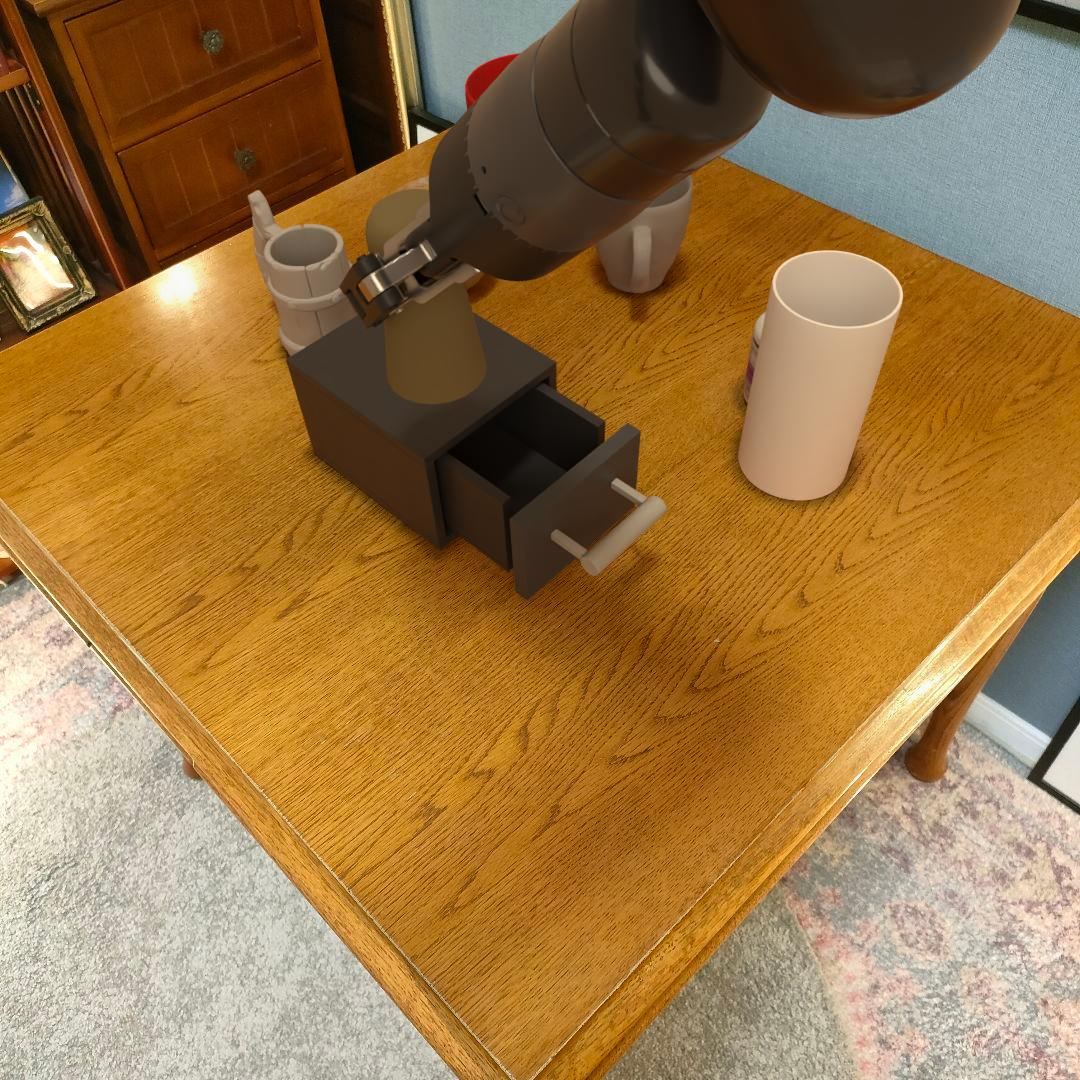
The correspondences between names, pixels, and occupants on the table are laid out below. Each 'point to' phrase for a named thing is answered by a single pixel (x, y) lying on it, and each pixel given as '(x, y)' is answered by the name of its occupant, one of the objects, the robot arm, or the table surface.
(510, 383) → the small storage chest
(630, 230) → the mug
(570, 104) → the robot arm
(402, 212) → the pepper shaker
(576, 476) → the drawer
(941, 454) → the table surface
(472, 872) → the table surface
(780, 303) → the cup
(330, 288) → the mug
